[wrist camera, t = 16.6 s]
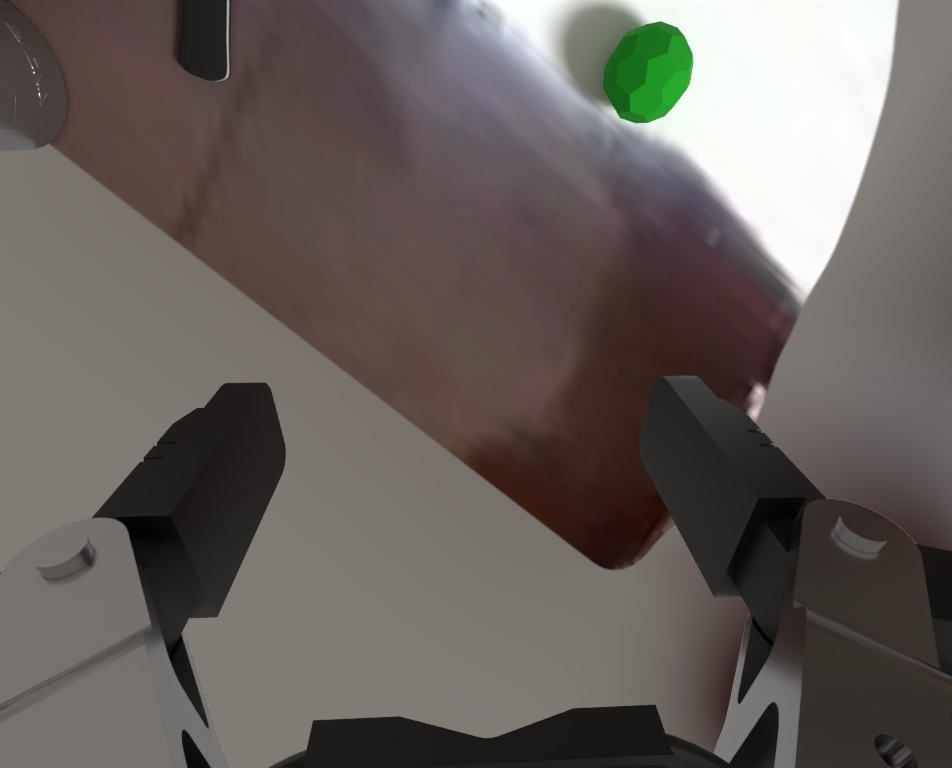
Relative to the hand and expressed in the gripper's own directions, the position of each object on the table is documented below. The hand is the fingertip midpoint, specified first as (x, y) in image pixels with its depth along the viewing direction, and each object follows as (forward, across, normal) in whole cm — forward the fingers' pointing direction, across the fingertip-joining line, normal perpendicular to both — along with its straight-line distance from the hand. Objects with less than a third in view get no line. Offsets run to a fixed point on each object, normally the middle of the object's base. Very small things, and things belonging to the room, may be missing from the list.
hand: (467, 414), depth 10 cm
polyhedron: (+27, +12, +7) cm, 31 cm away
